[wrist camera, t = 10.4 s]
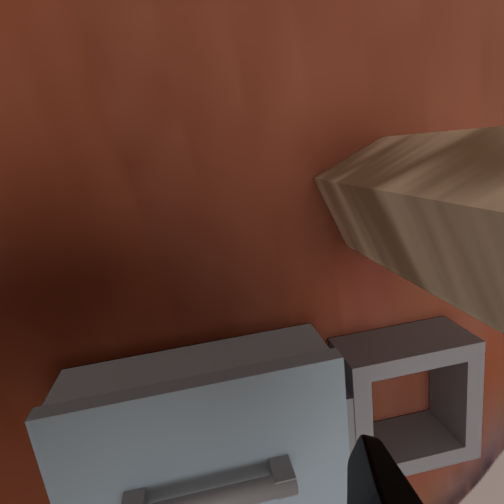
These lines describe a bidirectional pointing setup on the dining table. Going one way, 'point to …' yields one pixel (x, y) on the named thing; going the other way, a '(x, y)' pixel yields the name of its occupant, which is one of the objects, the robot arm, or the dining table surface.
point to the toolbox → (255, 416)
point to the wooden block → (429, 213)
